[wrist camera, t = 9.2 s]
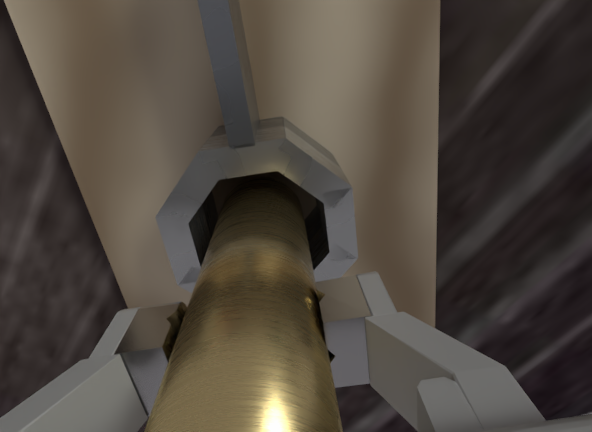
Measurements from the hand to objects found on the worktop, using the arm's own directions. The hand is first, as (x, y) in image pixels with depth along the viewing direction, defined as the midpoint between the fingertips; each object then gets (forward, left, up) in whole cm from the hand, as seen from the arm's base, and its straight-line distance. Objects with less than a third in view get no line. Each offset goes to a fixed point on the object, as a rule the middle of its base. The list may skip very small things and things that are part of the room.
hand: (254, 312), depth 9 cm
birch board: (0, 0, -10) cm, 10 cm away
